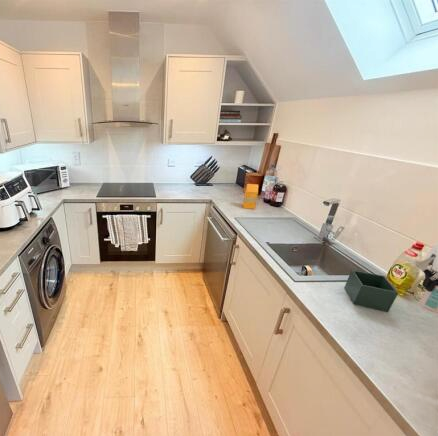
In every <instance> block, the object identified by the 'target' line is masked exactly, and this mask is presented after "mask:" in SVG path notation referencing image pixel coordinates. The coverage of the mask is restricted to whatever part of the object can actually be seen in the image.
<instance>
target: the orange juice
mask: <svg viewBox="0 0 438 436" xmlns="http://www.w3.org/2000/svg"><path fill="white" fill-rule="evenodd" d="M258 195H259V184H258V183H257V184H255V183H247V184H246V186H245V190H244V195H243V201H242V208H243V209H246V210H247V209H248V210H255V209H256V205H257V201H258Z"/></svg>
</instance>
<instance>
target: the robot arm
mask: <svg viewBox="0 0 438 436" xmlns="http://www.w3.org/2000/svg"><path fill="white" fill-rule="evenodd" d="M415 265H416V267H418V268H419V270H421V271H422V272H423V273H424V275H425V277H424V279H423V281H422V287H423V288H424V289H425V290H427V291H429V292H431V291H433V289H434V287H435V286H436V284H437V281H436V279H437V278H438V240H437V241H436V242H435V244H433V246H432V247H431V249H430V250H429V252H428V253H427V255H426V256H425V258H424V260H422V261H419V262H418V263H416V264H415ZM429 266H431V267H429ZM428 267H429V268H428Z"/></svg>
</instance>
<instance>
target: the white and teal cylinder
mask: <svg viewBox="0 0 438 436" xmlns="http://www.w3.org/2000/svg"><path fill="white" fill-rule="evenodd" d="M436 281H437V284H436V286H435V287H434V289H433V291H431V292H429V291H427V290H426V289H425V290H424V292H423V293H422V295H421V297H420V298H419V300H418V305H419V306H420V307H421V308H422V309H424V310H426V311H428V312H431V313H436V314H438V278H437V279H436Z"/></svg>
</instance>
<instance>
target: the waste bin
mask: <svg viewBox="0 0 438 436" xmlns="http://www.w3.org/2000/svg"><path fill="white" fill-rule="evenodd" d="M343 288H344V290H345V292H346V293H347V295H348V297H349V299H350V301H351V303H352V304H353V305H355V306H359V307H363V308H368V309H372V310H377V311H380V312H386V313H389V311H390V310H391V308H392V306H393V304H394V303H395V300H396V298H397V297H398V295H399V291H397V289H396V287H394V286H393V284H392V283H391V282H390V280H389V279H388V278H387V277H386V276H385V275H381V274H377V273H372V272H371V273H370V272H366V271H360V270H355V269H351V270H350V272H349V275H348V278H347V280H346V282H345V285H344V287H343Z"/></svg>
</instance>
